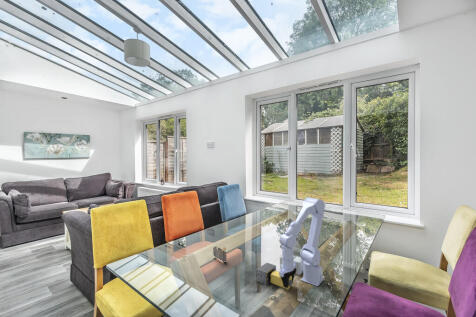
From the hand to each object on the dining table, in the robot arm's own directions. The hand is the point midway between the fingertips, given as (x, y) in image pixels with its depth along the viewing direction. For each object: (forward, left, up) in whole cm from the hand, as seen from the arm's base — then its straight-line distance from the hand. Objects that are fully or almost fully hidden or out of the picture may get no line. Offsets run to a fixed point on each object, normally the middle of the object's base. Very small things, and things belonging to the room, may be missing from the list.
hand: (288, 284), depth 114 cm
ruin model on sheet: (+50, -1, -2) cm, 50 cm away
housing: (+13, 0, -1) cm, 13 cm away
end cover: (+4, 0, -1) cm, 4 cm away
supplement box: (+13, -18, +2) cm, 22 cm away
